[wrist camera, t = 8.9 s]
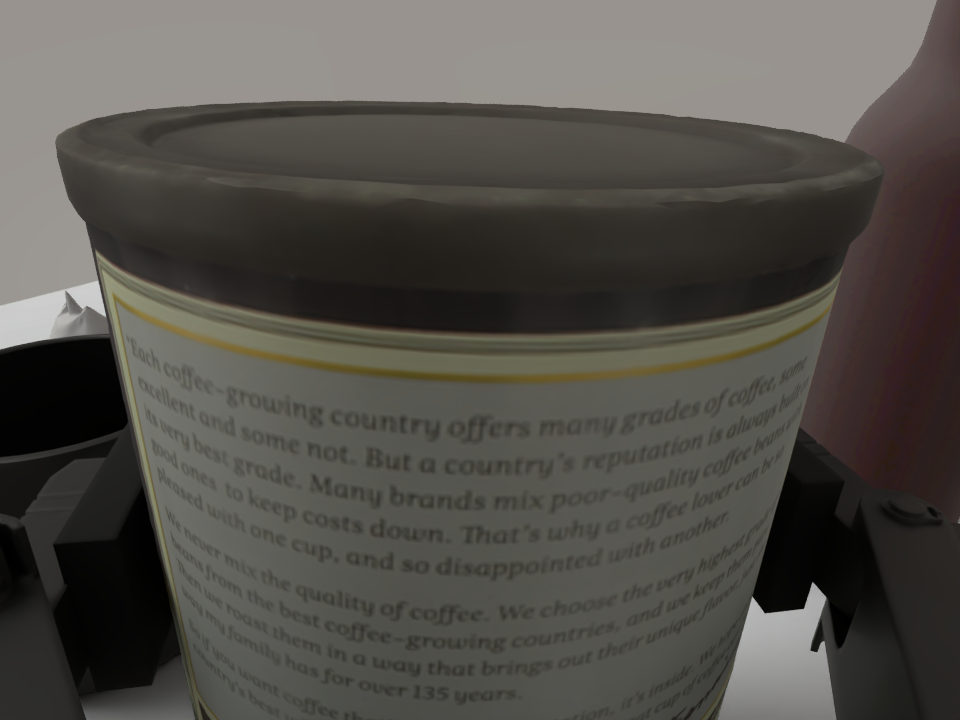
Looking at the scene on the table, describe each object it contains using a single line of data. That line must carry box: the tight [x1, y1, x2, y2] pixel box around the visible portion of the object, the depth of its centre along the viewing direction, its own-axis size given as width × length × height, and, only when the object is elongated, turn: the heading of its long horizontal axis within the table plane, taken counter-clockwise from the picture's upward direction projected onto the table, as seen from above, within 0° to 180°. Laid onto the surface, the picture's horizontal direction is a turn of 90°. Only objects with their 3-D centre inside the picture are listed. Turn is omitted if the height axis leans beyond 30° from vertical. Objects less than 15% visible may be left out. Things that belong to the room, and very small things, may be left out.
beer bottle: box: [799, 0, 960, 523], centre depth 24 cm, size 8×8×30 cm
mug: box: [0, 334, 181, 695], centre depth 24 cm, size 9×12×9 cm
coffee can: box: [56, 101, 885, 720], centre depth 12 cm, size 10×10×14 cm
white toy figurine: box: [49, 291, 109, 339], centre depth 36 cm, size 5×7×8 cm
